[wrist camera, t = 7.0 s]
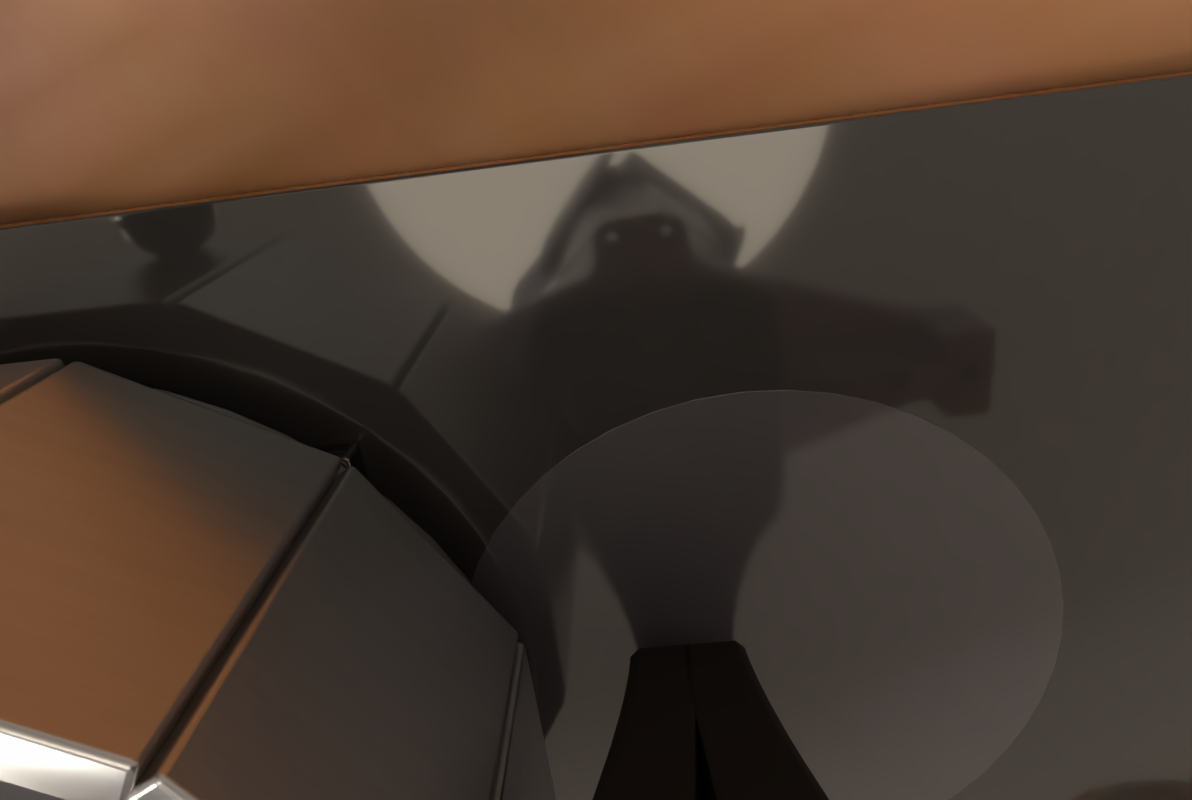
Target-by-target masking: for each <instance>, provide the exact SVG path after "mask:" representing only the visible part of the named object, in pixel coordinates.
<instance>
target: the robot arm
mask: <svg viewBox="0 0 1192 800" xmlns="http://www.w3.org/2000/svg"><path fill="white" fill-rule="evenodd" d="M593 800H829V799H828V797H827V795H826V794H825V792H824V791H823V789H822V788H821V786H820V785H819V783H818V781H817V780H816V778H815V777H814V775H813V774H812V772H811V771H810V769H809V768H808V766H807V764H806V763H805V761H804V760H803V758H802V757H801V755H800V754H799V752H798V750H797V749H796V747H795V745H794V744H793V742H792V740H791V739H790V737H789V735H788V734H787V732H786V730H785V728H784V727H783V725H782V723H781V721H780V720H779V718H778V716H777V714H776V712H775V711H774V709H773V707H772V705H771V704H770V702H769V700H768V698H767V696H766V694H765V692H764V690H763V688H762V686H761V684H760V682H759V680H758V678H757V676H756V674H755V671H754V669H753V667H752V665H751V662H750V660H749V658H748V655H747V652H746V649H745V647H743V646H742V645H741V644H739V643H738V642H737V641H735V640H734V641H721V642H709V643H697V644H685V645H673V646H660V647H648V648H639V649H638V650H637V651H636V652H635V653H634V654H633V655H632V656H631V657H630V667H629V674H628V680H627V685H626V690H625V695H624V699H623V703H622V707H621V711H620V715H619V719H618V722H617V726H616V729H615V733H614V736H613V740H612V743H611V747H610V750H609V753H608V756H607V759H606V761H605V764H604V767H603V770H602V773H601V776H600V779H599V782H598V785H597V788H596V791H595V794H594V797H593Z"/></svg>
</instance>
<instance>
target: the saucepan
mask: <svg viewBox="0 0 1192 800" xmlns="http://www.w3.org/2000/svg"><path fill="white" fill-rule="evenodd" d="M517 640H518V633H517V631H516V630H515V629H514V628H513V627H512V626H511V625H510V624H509V623H508V622H507V621H506V620H505V619H504V618H503V617H502V616H501V615H500V614H499V613H498V612H497V611H496V610H495V609H494V608H493V607H492V605H491V604H490V603H489V602H488V601H487V600H486V599H485V598H484V597H483V596H482V595H481V594H480V593H479V592H478V591H477V590H476V589H475V588H474V587H473V586H472V585H471V583H470V582H469V580H468V579H467V577H466V576H465V575H464V574H463V573H462V572H461V570H460V569H459V568H458V567H457V566H456V565H455V563H454V562H453V561H452V560H451V559H450V558H449V557H448V555H447V554H446V553H445V552H444V551H443V550H442V548H441V547H440V546H439V545H438V544H437V543H436V542H435V540H434V539H433V538H432V537H431V536H430V535H428V534H427V533H426V532H425V531H424V530H423V529H422V528H421V527H420V526H418V525H417V524H416V523H415V522H414V521H413V520H412V519H411V518H410V517H409V516H407V515H406V514H405V513H404V512H403V511H402V510H401V509H400V508H399V507H397V506H396V505H395V504H394V503H393V502H392V501H391V500H389V499H388V498H387V497H385V496H384V495H382V494H381V493H380V492H379V491H378V490H377V489H376V488H375V487H374V486H373V485H372V484H371V483H370V482H369V481H368V479H367V476H366V472H365V468H364V465H363V461H362V457H361V454H360V450H359V447H358V445H357V444H355V443H354V444H344V445H334V446H324V447H314V448H313V447H311V446H308V445H305V444H303V443H301V442H299V441H297V440H296V439H294V438H292V437H290V436H289V435H286V434H284V433H282V432H279V431H277V430H275V429H272V428H270V427H268V426H265V425H263V424H261V423H258V422H256V421H254V420H252V419H249V418H247V417H245V416H242V415H240V414H238V413H235V412H233V411H231V410H228V409H225V408H221V407H218V406H215V405H212V404H208V403H205V402H202V401H199V400H196V399H192V398H189V397H186V396H183V395H179V394H176V393H173V392H170V391H166V390H161V389H156V388H150V387H147V386H145V385H142V384H139V383H137V382H134V381H131V380H128V379H126V378H123V377H120V376H118V375H115V374H112V373H109V372H107V371H104V370H101V369H99V368H96V367H93V366H90V365H88V364H85V363H82V362H72V363H70V364H69V365H67V366H65V365H64V362H63V361H62V360H61V359H46V360H37V361H28V362H19V363H10V364H1V365H0V800H556V796H555V791H554V786H553V781H552V776H551V771H550V766H549V761H548V756H547V751H546V746H545V741H544V736H543V732H542V727H541V722H540V717H539V712H538V707H537V702H536V697H535V692H534V687H533V682H532V677H531V672H530V668H529V663H528V658H527V653H526V648H525V646H524V644H523V643H521V642H517Z"/></svg>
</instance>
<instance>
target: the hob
mask: <svg viewBox="0 0 1192 800" xmlns="http://www.w3.org/2000/svg"><path fill="white" fill-rule="evenodd" d="M46 359H61V360H62V361H63V362H64V365H65V366H67V365H69V364H70V363H72V362H82V363H85V364H88V365H90V366H93V367H96V368H99V369H101V370H104V371H107V372H109V373H112V374H115V375H118V376H120V377H123V378H126V379H128V380H131V381H134V382H137V383H139V384H142V385H145V386H147V387H150V388H156V389H161V390H166V391H170V392H173V393H176V394H179V395H183V396H186V397H189V398H192V399H196V400H199V401H202V402H205V403H208V404H212V405H215V406H218V407H221V408H225V409H228V410H231V411H233V412H235V413H238V414H240V415H242V416H245V417H247V418H249V419H252V420H254V421H256V422H258V423H261V424H263V425H265V426H268V427H270V428H272V429H275V430H277V431H279V432H282V433H284V434H286V435H289V436H290V437H292V438H294V439H296V440H297V441H299V442H301V443H303V444H305V445H308V446H311V447H313V448H314V447H324V446H334V445H344V444H354V443H355V444H357V445H358V447H359V450H360V454H361V457H362V461H363V465H364V468H365V472H366V476H367V479H368V481H369V482H370V483H371V484H372V485H373V486H374V487H375V488H376V489H377V490H378V491H379V492H380V493H381V494H382V495H384V496H385V497H387V498H388V499H389V500H391V501H392V502H393V503H394V504H395V505H396V506H397V507H399V508H400V509H401V510H402V511H403V512H404V513H405V514H406V515H407V516H409V517H410V518H411V519H412V520H413V521H414V522H415V523H416V524H417V525H418V526H420V527H421V528H422V529H423V530H424V531H425V532H426V533H427V534H428V535H430V536H431V537H432V538H433V539H434V540H435V542H436V543H437V544H438V545H439V546H440V547H441V548H442V550H443V551H444V552H445V553H446V554H447V555H448V557H449V558H450V559H451V560H452V561H453V562H454V563H455V565H456V566H457V567H458V568H459V569H460V570H461V572H462V573H463V574H464V575H465V576H466V577H467V579H468V580H469V582H470V583H471V585H472V586H473V587H474V588H475V589H476V590H477V591H478V592H479V593H480V594H481V595H482V596H483V597H484V598H485V599H486V600H487V601H488V602H489V603H490V604H491V605H492V607H493V608H494V609H495V610H496V611H497V612H498V613H499V614H500V615H501V616H502V617H503V618H504V619H505V620H506V621H507V622H508V623H509V624H510V625H511V626H512V627H513V628H514V629H515V630H516V631H517V633H518V640H517V642H521V643H523V644H524V646H525V648H526V653H527V658H528V663H529V668H530V672H531V677H532V682H533V687H534V692H535V697H536V702H537V707H538V712H539V717H540V722H541V727H542V732H543V736H544V741H545V746H546V751H547V756H548V761H549V766H550V771H551V776H552V781H553V786H554V791H555V796H556V800H593V797H594V794H595V791H596V788H597V785H598V782H599V779H600V776H601V773H602V770H603V767H604V764H605V761H606V759H607V756H608V753H609V750H610V747H611V743H612V740H613V736H614V733H615V729H616V726H617V722H618V719H619V715H620V711H621V707H622V703H623V699H624V695H625V690H626V685H627V680H628V674H629V667H630V657H631V656H632V655H633V654H634V653H635V652H636V651H637V650H638V649H639V648H648V647H660V646H673V645H685V644H697V643H709V642H721V641H734V640H735V641H737V642H738V643H739V644H741V645H742V646H743V647H745V649H746V652H747V655H748V658H749V660H750V662H751V665H752V667H753V669H754V671H755V674H756V676H757V678H758V680H759V682H760V684H761V686H762V688H763V690H764V692H765V694H766V696H767V698H768V700H769V702H770V704H771V705H772V707H773V709H774V711H775V712H776V714H777V716H778V718H779V720H780V721H781V723H782V725H783V727H784V728H785V730H786V732H787V734H788V735H789V737H790V739H791V740H792V742H793V744H794V745H795V747H796V749H797V750H798V752H799V754H800V755H801V757H802V758H803V760H804V761H805V763H806V764H807V766H808V768H809V769H810V771H811V772H812V774H813V775H814V777H815V778H816V780H817V781H818V783H819V785H820V786H821V788H822V789H823V791H824V792H825V794H826V795H827V797H828V799H829V800H1192V71H1187V72H1179V73H1172V74H1164V75H1156V76H1149V77H1141V78H1133V79H1125V80H1118V81H1110V82H1102V83H1094V84H1087V85H1079V86H1071V87H1064V88H1056V89H1048V90H1040V91H1033V92H1025V93H1017V94H1010V95H1002V96H994V97H986V98H979V99H971V100H963V101H955V102H948V103H940V104H932V105H925V106H917V107H909V108H901V109H894V110H886V111H878V112H870V113H863V114H855V115H847V116H840V117H832V118H824V119H816V120H809V121H801V122H793V123H785V124H778V125H770V126H762V127H755V128H747V129H739V130H731V131H724V132H716V133H708V134H700V135H693V136H685V137H677V138H670V139H662V140H654V141H646V142H639V143H631V144H623V145H616V146H608V147H600V148H592V149H585V150H577V151H569V152H561V153H554V154H546V155H538V156H531V157H523V158H515V159H507V160H500V161H492V162H484V163H476V164H469V165H461V166H453V167H446V168H438V169H430V170H422V171H415V172H407V173H399V174H391V175H384V176H376V177H368V178H361V179H353V180H345V181H337V182H330V183H322V184H314V185H306V186H299V187H291V188H283V189H276V190H268V191H260V192H252V193H245V194H237V195H229V196H221V197H214V198H206V199H198V200H191V201H183V202H175V203H167V204H160V205H152V206H144V207H137V208H129V209H121V210H113V211H106V212H98V213H90V214H82V215H75V216H67V217H59V218H52V219H44V220H36V221H28V222H21V223H13V224H5V225H0V365H1V364H10V363H19V362H28V361H37V360H46Z"/></svg>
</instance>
